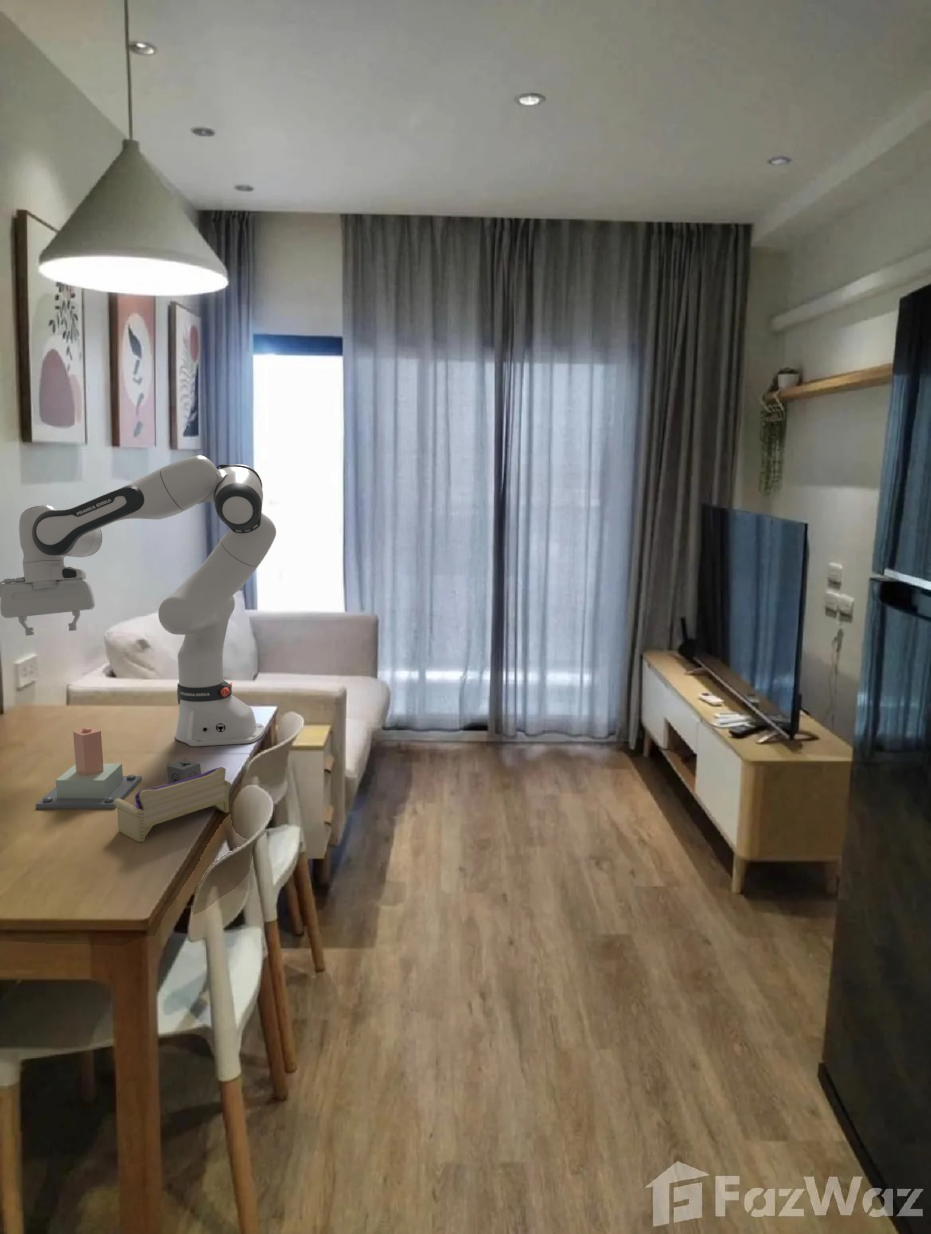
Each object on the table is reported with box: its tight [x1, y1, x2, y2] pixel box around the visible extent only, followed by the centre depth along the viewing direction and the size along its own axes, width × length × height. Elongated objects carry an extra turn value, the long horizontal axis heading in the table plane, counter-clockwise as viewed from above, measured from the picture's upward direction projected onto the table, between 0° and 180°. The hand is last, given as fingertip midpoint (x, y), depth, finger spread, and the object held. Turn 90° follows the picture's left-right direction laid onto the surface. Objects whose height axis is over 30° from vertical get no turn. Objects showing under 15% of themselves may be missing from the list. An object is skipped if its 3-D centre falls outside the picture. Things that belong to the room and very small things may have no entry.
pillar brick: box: [72, 726, 104, 776], centre depth 183 cm, size 4×4×10 cm
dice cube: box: [166, 758, 202, 784], centre depth 190 cm, size 5×5×5 cm
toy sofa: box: [114, 766, 232, 843], centre depth 171 cm, size 21×9×10 cm, turn 140°
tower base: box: [35, 763, 143, 810], centre depth 184 cm, size 16×16×5 cm
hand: (51, 633), depth 204 cm, fingers open, 8 cm apart
